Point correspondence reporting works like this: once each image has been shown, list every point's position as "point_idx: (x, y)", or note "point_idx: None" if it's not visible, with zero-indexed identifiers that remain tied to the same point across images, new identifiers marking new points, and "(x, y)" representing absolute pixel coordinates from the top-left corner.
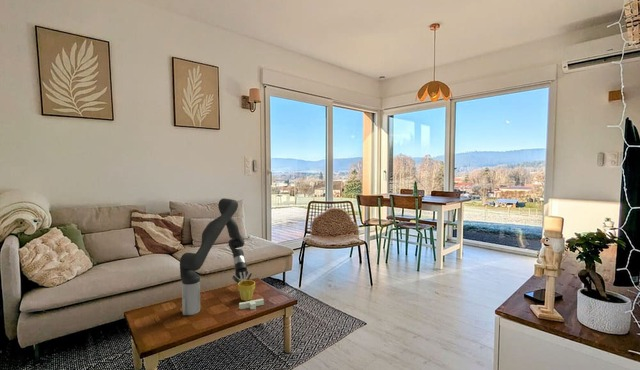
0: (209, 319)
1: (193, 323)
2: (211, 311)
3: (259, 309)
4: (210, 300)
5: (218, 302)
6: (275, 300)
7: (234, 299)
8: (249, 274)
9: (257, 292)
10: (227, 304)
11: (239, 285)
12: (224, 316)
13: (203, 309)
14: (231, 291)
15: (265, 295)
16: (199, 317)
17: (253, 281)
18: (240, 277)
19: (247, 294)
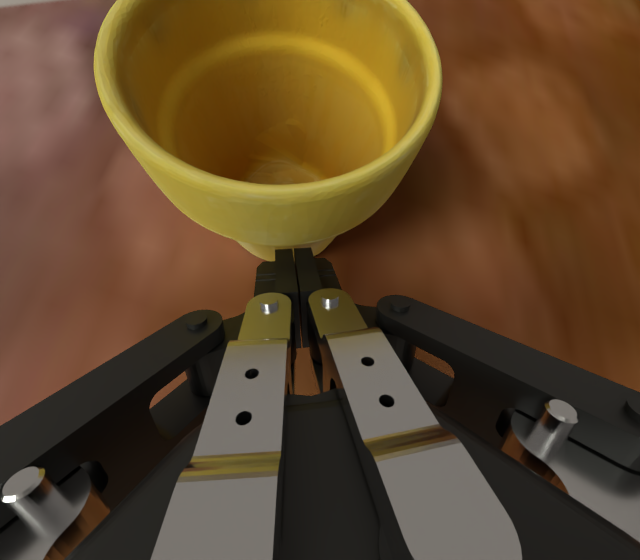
0: (555, 15)
1: (633, 11)
2: (565, 99)
3: None
4: (620, 290)
5: (540, 222)
6: (35, 77)
7: (401, 231)
8: (2, 489)
9: (126, 322)
10: (460, 158)
11: (418, 15)
12: (469, 12)
13: (629, 146)
14: None
15: (73, 209)
16: (621, 56)
17: (109, 77)
18: (392, 350)
19: (286, 99)
